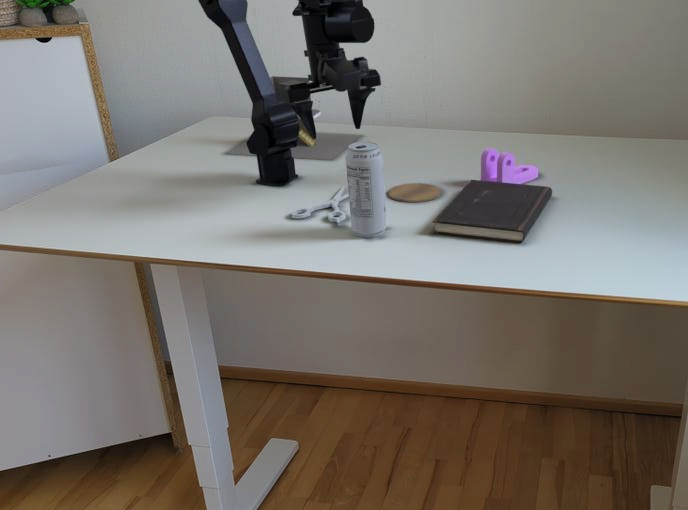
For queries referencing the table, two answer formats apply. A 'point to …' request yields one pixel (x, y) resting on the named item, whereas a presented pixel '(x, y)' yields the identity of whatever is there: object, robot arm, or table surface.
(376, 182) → the energy drink can
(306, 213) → the scissors
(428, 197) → the coaster
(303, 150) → the architectural model
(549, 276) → the table surface
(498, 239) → the hardcover book
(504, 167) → the bracket
